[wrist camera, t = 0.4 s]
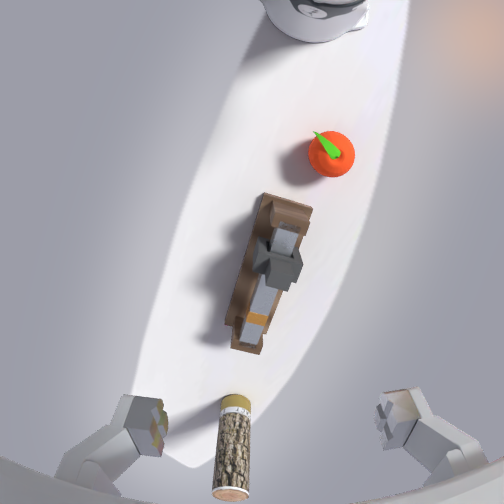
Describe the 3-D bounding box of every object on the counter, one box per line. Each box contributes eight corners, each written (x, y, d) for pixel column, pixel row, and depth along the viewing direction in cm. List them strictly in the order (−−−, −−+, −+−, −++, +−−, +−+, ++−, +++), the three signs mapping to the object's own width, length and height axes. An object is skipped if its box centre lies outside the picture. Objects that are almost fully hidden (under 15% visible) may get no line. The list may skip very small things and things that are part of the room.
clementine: (291, 144, 48) (296, 148, 41) (324, 116, 46) (334, 115, 40) (324, 182, 50) (334, 191, 44) (356, 155, 48) (370, 160, 42)
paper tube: (231, 414, 71) (224, 503, 48) (215, 398, 69) (204, 491, 46) (256, 406, 70) (255, 498, 47) (241, 389, 68) (236, 486, 45)
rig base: (264, 192, 51) (265, 205, 43) (311, 206, 52) (321, 222, 44) (225, 319, 60) (220, 348, 52) (265, 329, 61) (266, 358, 53)
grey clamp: (258, 236, 50) (258, 264, 40) (297, 247, 50) (307, 276, 41) (252, 253, 51) (252, 284, 42) (291, 264, 52) (299, 296, 42)
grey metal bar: (278, 214, 47) (279, 221, 44) (298, 220, 47) (301, 227, 44) (238, 334, 55) (237, 345, 52) (255, 338, 55) (255, 349, 52)
